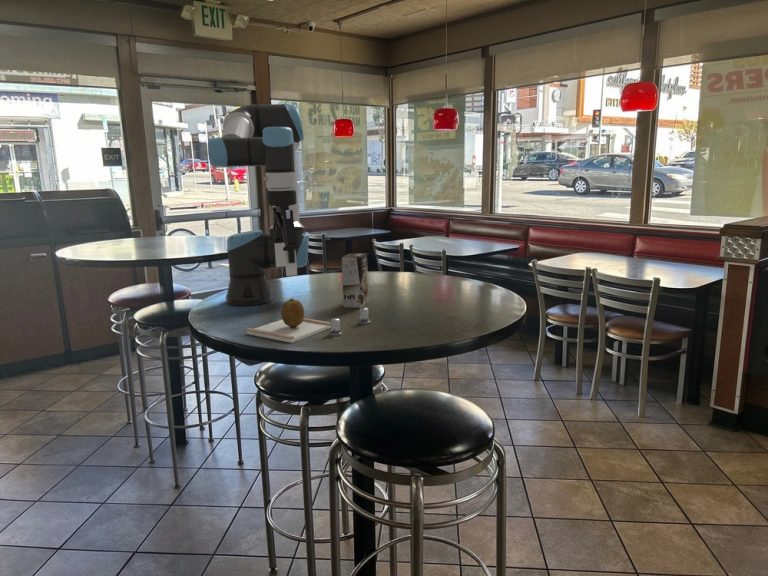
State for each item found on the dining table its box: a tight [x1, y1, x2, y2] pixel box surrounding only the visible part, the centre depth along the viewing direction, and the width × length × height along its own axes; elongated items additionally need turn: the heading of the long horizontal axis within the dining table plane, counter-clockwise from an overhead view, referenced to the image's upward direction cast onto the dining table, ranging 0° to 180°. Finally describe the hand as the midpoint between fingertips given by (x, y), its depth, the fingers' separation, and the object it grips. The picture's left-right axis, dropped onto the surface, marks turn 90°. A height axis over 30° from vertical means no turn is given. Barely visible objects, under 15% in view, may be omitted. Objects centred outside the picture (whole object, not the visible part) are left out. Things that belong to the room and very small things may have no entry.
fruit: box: [280, 298, 305, 328], centre depth 149 cm, size 6×6×8 cm
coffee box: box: [341, 252, 369, 309], centre depth 176 cm, size 9×6×16 cm
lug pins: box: [328, 307, 372, 337], centre depth 150 cm, size 4×17×4 cm, turn 146°
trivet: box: [246, 317, 331, 344], centre depth 149 cm, size 16×16×1 cm
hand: (286, 270), depth 147 cm, fingers open, 13 cm apart
